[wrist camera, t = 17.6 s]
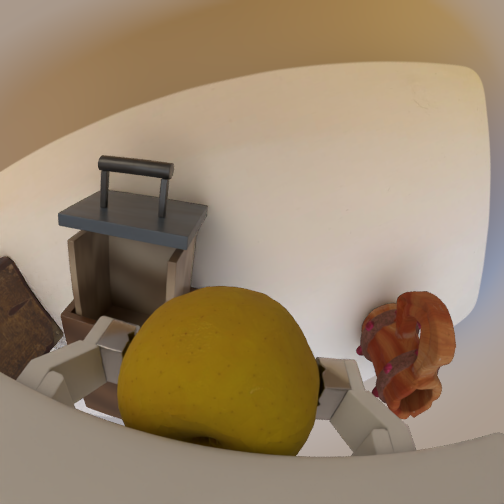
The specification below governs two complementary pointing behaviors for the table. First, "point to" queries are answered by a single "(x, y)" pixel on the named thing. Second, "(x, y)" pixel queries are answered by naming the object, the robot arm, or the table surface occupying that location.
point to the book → (22, 323)
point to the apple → (221, 374)
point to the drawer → (130, 245)
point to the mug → (408, 350)
